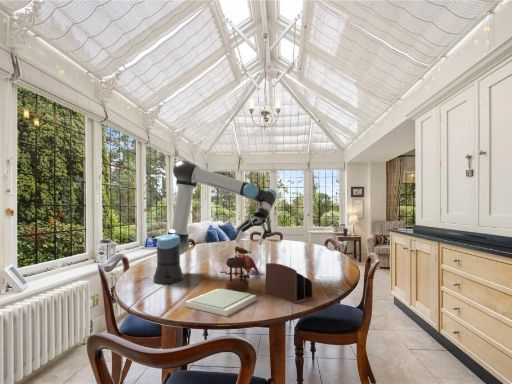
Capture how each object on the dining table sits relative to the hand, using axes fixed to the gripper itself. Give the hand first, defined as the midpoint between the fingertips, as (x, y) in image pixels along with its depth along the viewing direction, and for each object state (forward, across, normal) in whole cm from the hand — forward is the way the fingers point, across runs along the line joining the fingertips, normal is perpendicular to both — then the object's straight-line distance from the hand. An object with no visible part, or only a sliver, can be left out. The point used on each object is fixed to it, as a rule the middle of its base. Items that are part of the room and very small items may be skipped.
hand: (247, 242), depth 149 cm
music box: (+22, 0, -7) cm, 23 cm away
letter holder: (+20, -26, -9) cm, 34 cm away
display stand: (+36, -7, +7) cm, 37 cm away
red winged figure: (+2, +12, -28) cm, 30 cm away
